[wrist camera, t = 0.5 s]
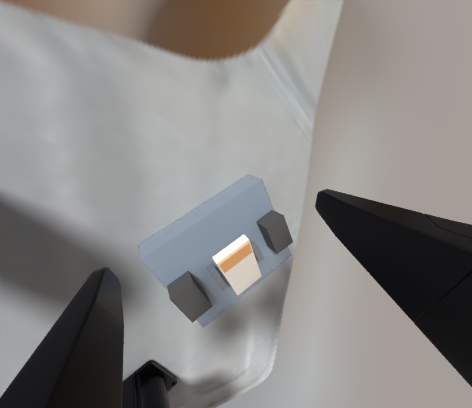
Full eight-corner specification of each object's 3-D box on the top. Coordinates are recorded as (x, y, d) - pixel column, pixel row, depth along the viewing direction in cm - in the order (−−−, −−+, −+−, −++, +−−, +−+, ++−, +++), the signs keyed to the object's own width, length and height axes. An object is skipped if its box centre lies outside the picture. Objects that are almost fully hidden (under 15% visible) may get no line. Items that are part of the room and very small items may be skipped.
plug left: (206, 293, 22) (212, 306, 20) (187, 307, 21) (192, 322, 20) (188, 270, 20) (193, 282, 18) (167, 285, 19) (170, 299, 18)
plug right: (281, 234, 25) (293, 241, 23) (267, 246, 24) (277, 254, 22) (272, 209, 23) (283, 215, 21) (255, 221, 22) (266, 228, 20)
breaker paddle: (257, 271, 24) (262, 277, 23) (233, 290, 23) (238, 296, 22) (243, 234, 18) (250, 240, 17) (211, 257, 17) (217, 265, 17)
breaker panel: (277, 244, 29) (303, 263, 25) (196, 308, 26) (209, 344, 21) (247, 174, 23) (275, 183, 19) (138, 244, 20) (141, 274, 16)
